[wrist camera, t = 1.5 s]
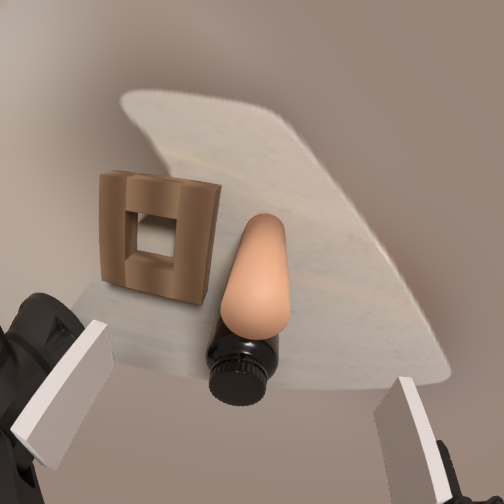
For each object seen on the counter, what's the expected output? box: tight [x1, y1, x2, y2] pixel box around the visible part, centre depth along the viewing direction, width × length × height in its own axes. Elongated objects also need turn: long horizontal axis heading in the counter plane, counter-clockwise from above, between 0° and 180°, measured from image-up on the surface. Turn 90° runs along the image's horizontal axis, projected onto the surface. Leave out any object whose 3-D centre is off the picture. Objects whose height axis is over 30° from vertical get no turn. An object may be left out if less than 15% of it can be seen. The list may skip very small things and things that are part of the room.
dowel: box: [221, 214, 291, 340], centre depth 23 cm, size 4×4×14 cm
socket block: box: [99, 170, 222, 305], centre depth 29 cm, size 12×12×3 cm
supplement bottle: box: [206, 306, 279, 406], centre depth 27 cm, size 7×7×12 cm
